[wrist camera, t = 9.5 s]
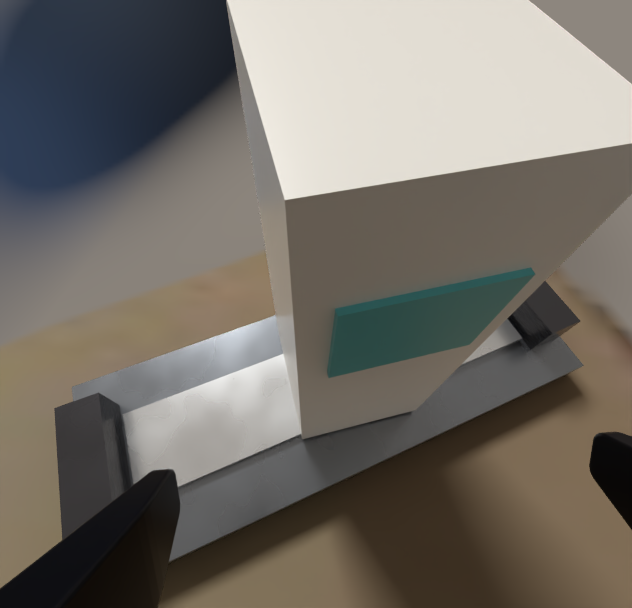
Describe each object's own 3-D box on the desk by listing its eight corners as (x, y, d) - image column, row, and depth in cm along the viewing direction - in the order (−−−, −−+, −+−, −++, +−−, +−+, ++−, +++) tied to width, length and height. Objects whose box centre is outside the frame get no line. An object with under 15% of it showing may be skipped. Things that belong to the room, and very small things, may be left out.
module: (417, 413, 16) (701, 141, 4) (302, 442, 15) (287, 210, 4) (377, 311, 18) (492, -30, 7) (278, 332, 17) (225, -8, 6)
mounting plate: (567, 374, 18) (611, 350, 16) (107, 592, 13) (59, 609, 11) (473, 255, 22) (495, 220, 19) (86, 395, 17) (47, 372, 15)
